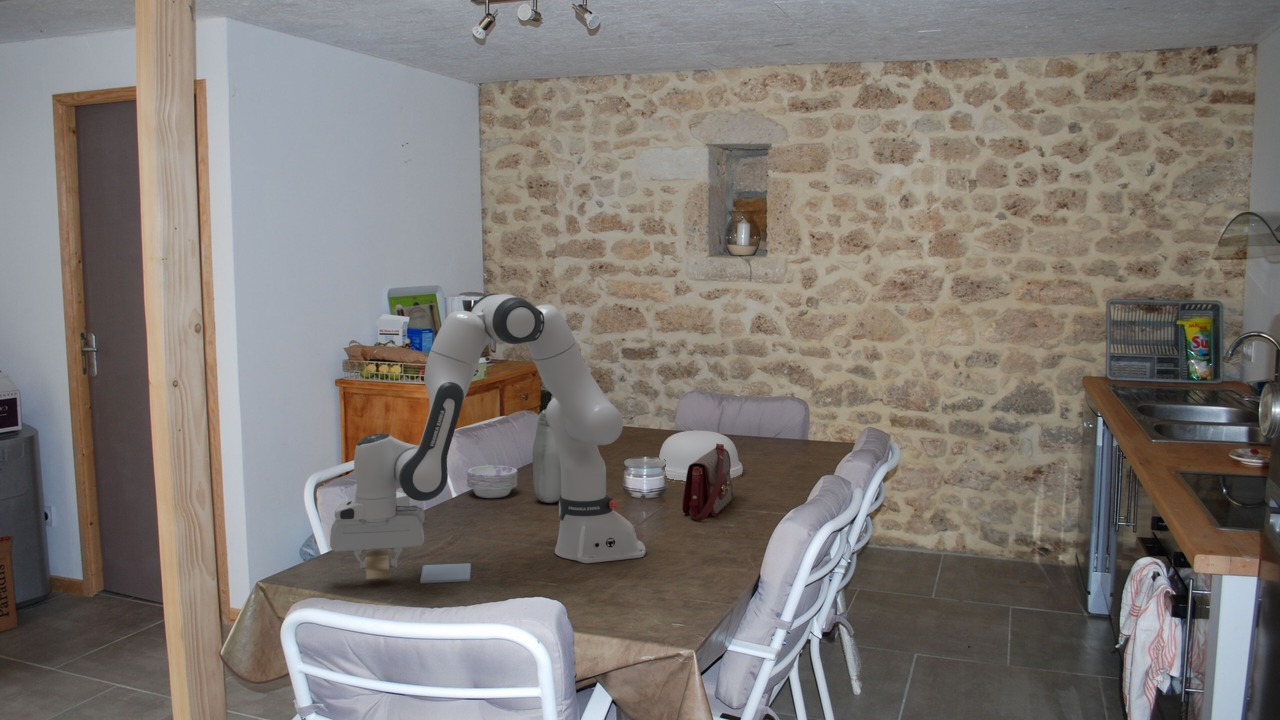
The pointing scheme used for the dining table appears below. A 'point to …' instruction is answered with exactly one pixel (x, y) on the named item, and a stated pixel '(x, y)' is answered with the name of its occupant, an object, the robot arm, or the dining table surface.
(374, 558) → the beech cube
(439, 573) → the coaster
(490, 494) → the paper bowls
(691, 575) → the dining table surface
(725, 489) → the handbag
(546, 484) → the glass bottle
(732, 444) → the dome cover
